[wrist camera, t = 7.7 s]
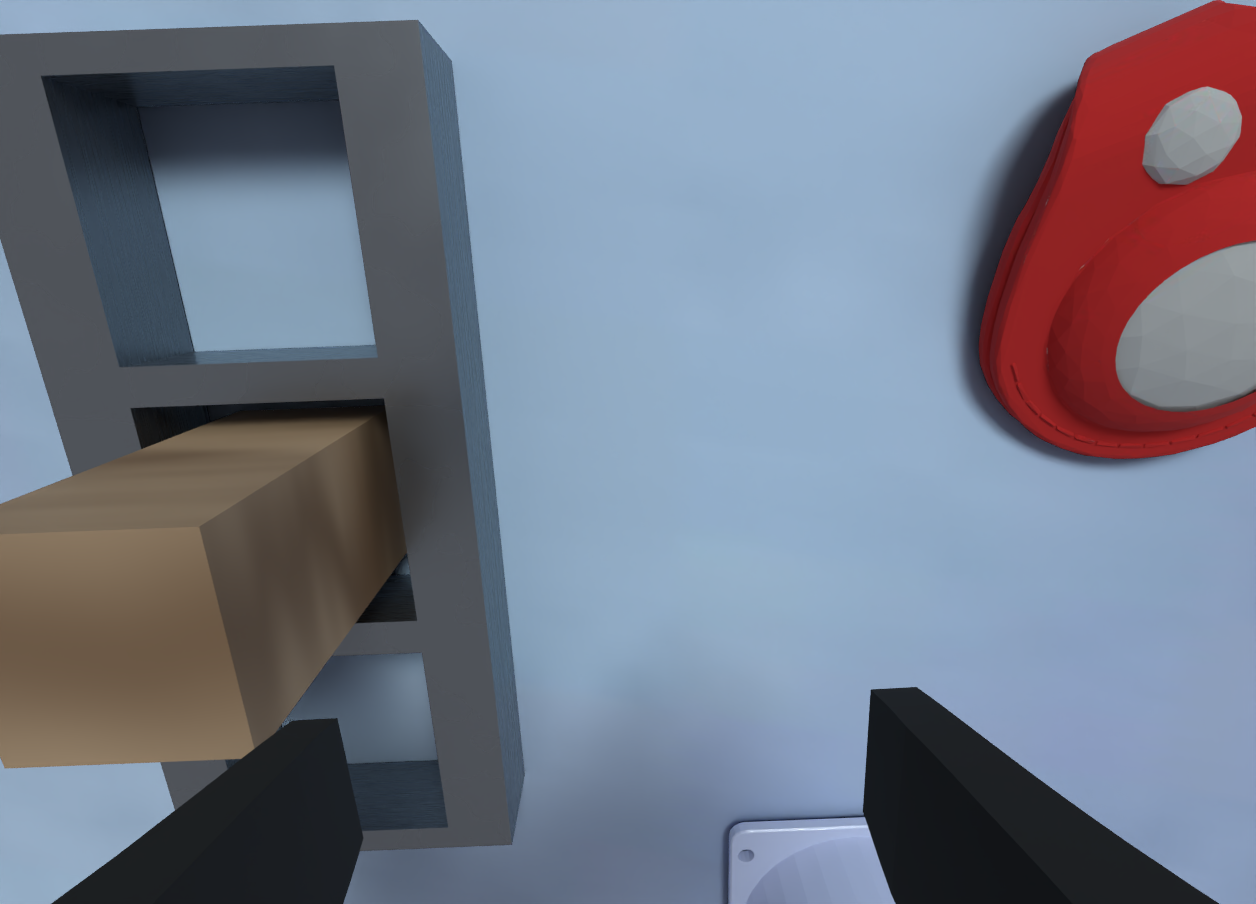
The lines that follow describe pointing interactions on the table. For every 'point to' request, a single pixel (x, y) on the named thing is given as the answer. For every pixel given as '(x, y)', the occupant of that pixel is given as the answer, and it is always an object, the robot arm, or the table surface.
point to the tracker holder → (1139, 252)
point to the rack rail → (188, 381)
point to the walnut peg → (191, 587)
